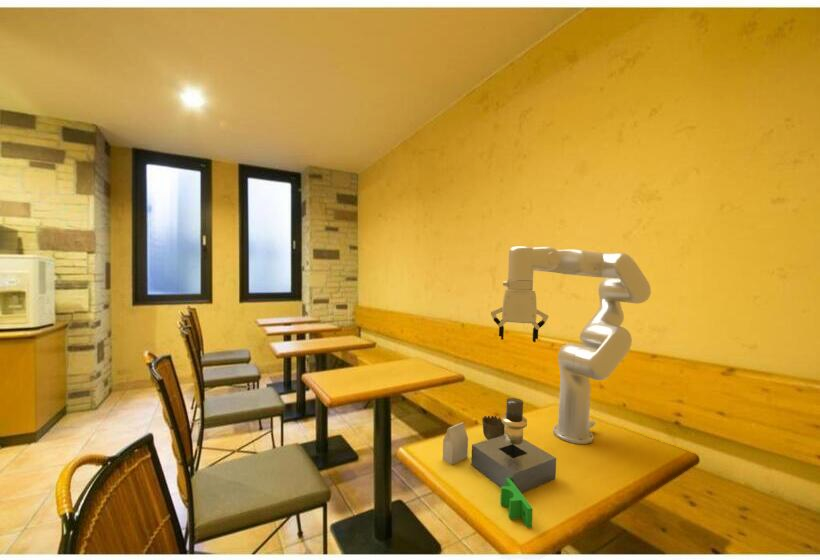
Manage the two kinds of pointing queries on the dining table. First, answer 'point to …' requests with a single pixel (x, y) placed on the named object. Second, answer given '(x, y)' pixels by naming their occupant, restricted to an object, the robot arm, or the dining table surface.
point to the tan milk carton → (455, 444)
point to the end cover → (514, 421)
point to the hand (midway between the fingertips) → (517, 340)
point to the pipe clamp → (516, 503)
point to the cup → (492, 427)
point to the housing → (513, 463)
